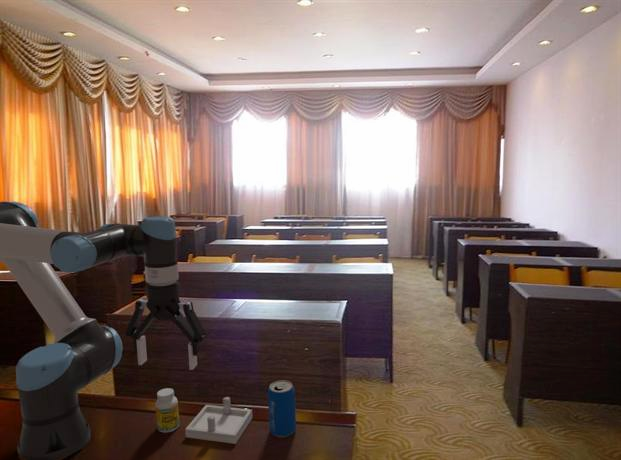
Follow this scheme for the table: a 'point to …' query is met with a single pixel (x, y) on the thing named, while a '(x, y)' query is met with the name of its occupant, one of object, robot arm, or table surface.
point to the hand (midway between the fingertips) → (167, 365)
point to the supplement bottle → (167, 411)
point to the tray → (219, 423)
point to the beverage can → (282, 408)
